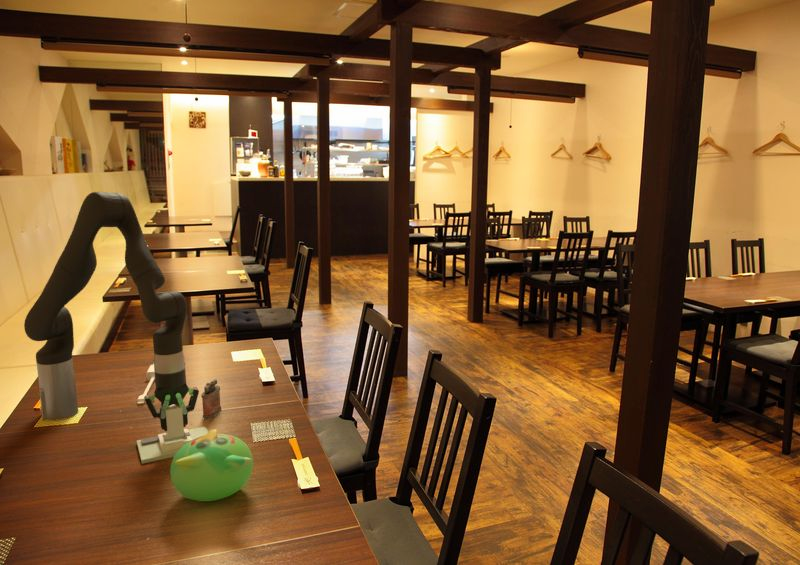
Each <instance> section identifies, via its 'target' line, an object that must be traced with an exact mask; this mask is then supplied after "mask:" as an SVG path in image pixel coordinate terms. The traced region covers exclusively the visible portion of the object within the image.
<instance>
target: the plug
mask: <svg viewBox="0 0 800 565" xmlns="http://www.w3.org/2000/svg"><path fill="white" fill-rule="evenodd" d="M165 417H166V422H167V431H165V433H166V434H167V437H168V439H170V438H174V437H179V436H184V429H185V427H184V426H183V413H182V407H180V405H179V404H172V405H170V406H168V409H167V410H166V416H165Z"/></svg>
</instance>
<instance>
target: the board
mask: <svg viewBox="0 0 800 565" xmlns="http://www.w3.org/2000/svg"><path fill="white" fill-rule="evenodd" d="M206 427H207V426H201V427H195V428H192V429H191V428H190V429H188V428H184V436H179V437H174V438H170V439H168V437H167V434H166V432H163V433H158V434H157V436H151V437H147V438H142V439H138V440H136V446H137V449H138V454H139V458H140V462H141V464H142V465H143V464H148V463H152V462H156V461H160V460H166V459H169V458H174V456H175V455H176V453H177V452H178V450H179V449H180V448H181V447H182V446H184V445H185V444H186V443H188V442H189V441H191V440H193V439H195V438H198V437H201V436H204V435H206V434H207V433H208V432H209V430H208V429H207V428H206Z"/></svg>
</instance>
